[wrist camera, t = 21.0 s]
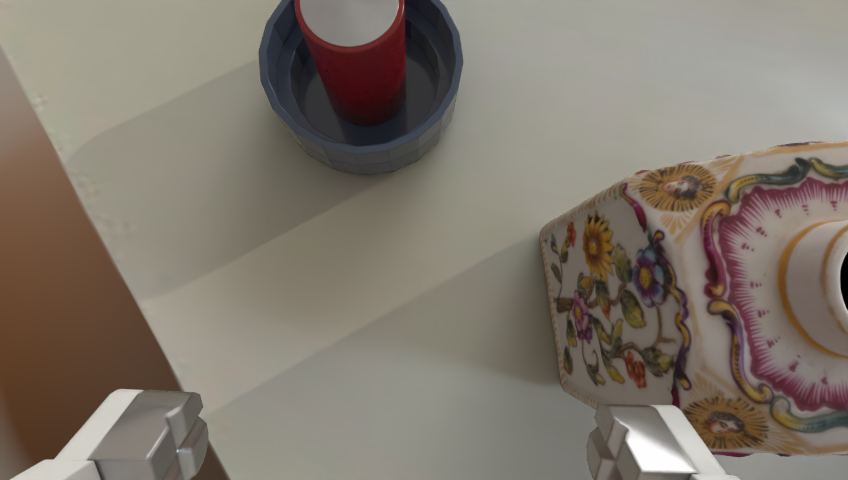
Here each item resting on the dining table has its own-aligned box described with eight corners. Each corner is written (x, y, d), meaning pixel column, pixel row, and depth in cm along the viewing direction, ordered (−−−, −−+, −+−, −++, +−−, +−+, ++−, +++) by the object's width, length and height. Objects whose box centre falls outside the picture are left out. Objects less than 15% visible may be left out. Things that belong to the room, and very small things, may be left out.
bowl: (443, 7, 35) (448, -43, 30) (465, 166, 33) (475, 141, 28) (275, 23, 34) (252, -26, 29) (288, 185, 32) (266, 163, 27)
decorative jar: (689, 211, 33) (1025, 95, 15) (722, 373, 31) (1147, 462, 13) (530, 227, 32) (681, 127, 14) (555, 393, 30) (760, 514, 13)
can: (401, 50, 33) (398, -53, 24) (410, 122, 32) (410, 46, 23) (324, 57, 33) (289, -44, 24) (331, 130, 32) (298, 56, 23)
